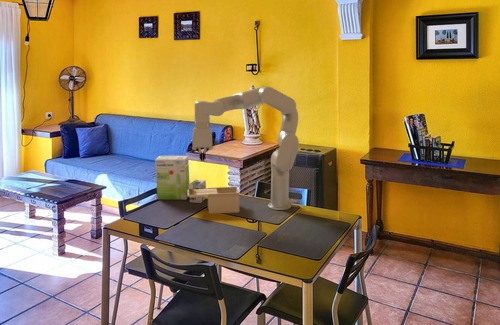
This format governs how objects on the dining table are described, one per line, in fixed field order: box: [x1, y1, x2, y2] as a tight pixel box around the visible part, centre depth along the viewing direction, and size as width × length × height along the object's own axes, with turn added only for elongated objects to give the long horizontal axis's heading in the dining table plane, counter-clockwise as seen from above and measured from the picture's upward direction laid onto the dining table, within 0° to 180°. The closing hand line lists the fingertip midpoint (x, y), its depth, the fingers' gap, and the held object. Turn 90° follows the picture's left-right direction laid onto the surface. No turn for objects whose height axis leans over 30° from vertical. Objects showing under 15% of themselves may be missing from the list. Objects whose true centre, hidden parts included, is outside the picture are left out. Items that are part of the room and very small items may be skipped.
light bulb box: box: [189, 179, 207, 204], centre depth 238 cm, size 11×7×11 cm, turn 168°
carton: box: [206, 186, 240, 215], centre depth 223 cm, size 16×12×11 cm
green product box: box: [154, 155, 190, 200], centre depth 241 cm, size 18×10×24 cm, turn 88°
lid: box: [187, 183, 217, 198], centre depth 220 cm, size 16×10×4 cm, turn 99°
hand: (202, 160), depth 216 cm, fingers closed
